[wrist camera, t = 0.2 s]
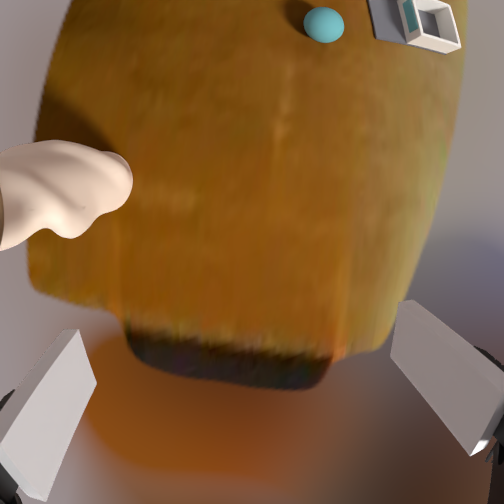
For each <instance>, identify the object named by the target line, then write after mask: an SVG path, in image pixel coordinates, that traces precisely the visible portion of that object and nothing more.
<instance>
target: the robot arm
mask: <svg viewBox="0 0 504 504" xmlns="http://www.w3.org/2000/svg"><path fill="white" fill-rule="evenodd" d="M390 357H391V358H392V360H393V361H394V362H395V363H396V364H397V366H398V367H399V368H400V369H401V370H402V372H403V373H404V374H405V375H406V377H407V378H408V379H409V380H410V381H411V383H412V384H413V385H414V386H415V387H416V389H417V390H418V391H419V392H420V394H421V395H422V396H423V397H424V399H425V400H426V401H427V402H428V403H429V405H430V406H431V407H432V408H433V410H434V411H435V412H436V413H437V415H438V416H439V417H440V418H441V419H442V421H443V422H444V423H445V425H446V426H447V427H448V429H449V430H450V431H451V432H452V434H453V435H454V436H455V438H456V439H457V440H458V441H459V443H460V444H461V445H462V446H463V448H464V449H465V450H466V451H467V453H468V454H469V456H471V455H473V454H475V453H477V452H478V451H480V450H482V449H484V448H485V447H486V446H487V444H488V442H489V441H490V439H491V438H492V436H495V438H496V439H497V441H496V443H495V445H494V446H493V448H492V449H491V451H490V453H489V454H488V456H487V458H486V460H485V462H488V461H489V459H490V458H491V456H492V455H493V460H492V463H493V464H492V474H491V483H490V490H489V497H488V503H487V504H504V365H501V363H500V362H499V361H497V360H495V358H494V357H493V356H491V355H490V354H489V353H488V352H487V351H485V350H483V349H480V348H478V347H476V346H472V345H470V344H469V343H468V342H467V341H465V340H464V339H463V338H462V337H461V336H459V335H458V334H457V333H456V332H454V331H453V330H452V329H451V328H449V327H448V326H447V325H445V324H444V323H443V322H442V321H440V320H439V319H438V318H437V317H435V316H434V315H433V314H431V313H430V312H429V311H427V310H426V309H425V308H423V307H422V306H421V305H420V304H418V303H417V302H416V301H414V300H409V301H402V302H399V303H398V311H397V318H396V325H395V332H394V337H393V344H392V349H391V355H390ZM96 384H97V383H96V380H95V377H94V375H93V372H92V369H91V366H90V363H89V360H88V358H87V355H86V352H85V348H84V346H83V342H82V339H81V336H80V332H79V330H74V329H73V330H72V329H71V330H68V329H64V330H63V331H62V332H61V333H60V334H59V335H58V337H57V338H56V339H55V340H54V341H53V343H52V344H51V345H50V346H49V348H48V349H47V350H46V351H45V352H44V354H43V355H42V356H41V357H40V359H39V360H38V361H37V363H36V364H35V365H34V367H33V368H32V369H31V370H30V372H29V373H28V374H27V376H26V377H25V378H24V379H23V381H22V382H21V384H20V385H19V386H18V387H17V389H16V390H12V391H11V392H10V393H8V394H7V395H6V396H4V397H3V399H2V400H1V401H0V504H22V501H21V499H20V497H19V496H18V494H17V493H16V490H17V488H18V486H19V487H20V488H21V489H22V490H23V491H24V492H25V493H26V494H27V496H29V497H32V498H35V499H38V500H42V501H45V502H46V501H47V498H48V496H49V493H50V490H51V487H52V485H53V482H54V479H55V477H56V475H57V472H58V469H59V467H60V465H61V462H62V460H63V457H64V455H65V453H66V450H67V448H68V445H69V443H70V441H71V438H72V436H73V434H74V432H75V429H76V427H77V425H78V422H79V420H80V418H81V416H82V414H83V411H84V409H85V407H86V405H87V403H88V401H89V398H90V396H91V395H92V392H93V390H94V388H95V386H96Z"/></svg>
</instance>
